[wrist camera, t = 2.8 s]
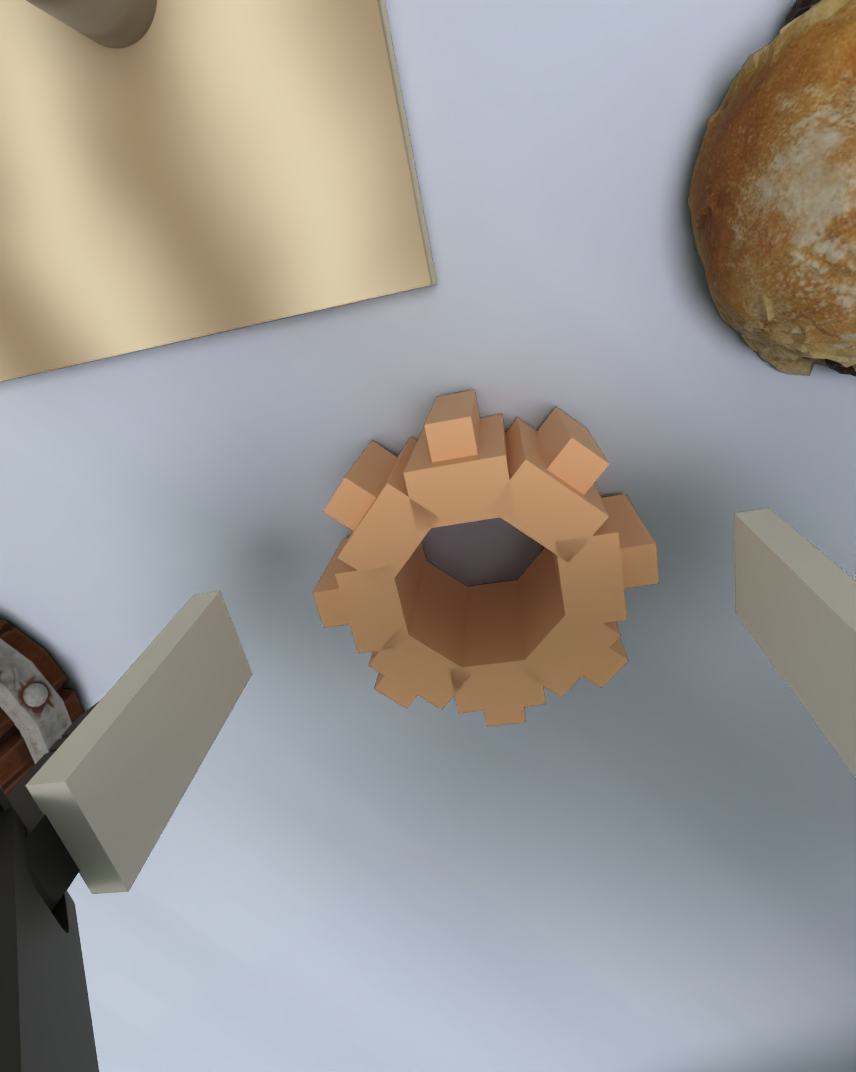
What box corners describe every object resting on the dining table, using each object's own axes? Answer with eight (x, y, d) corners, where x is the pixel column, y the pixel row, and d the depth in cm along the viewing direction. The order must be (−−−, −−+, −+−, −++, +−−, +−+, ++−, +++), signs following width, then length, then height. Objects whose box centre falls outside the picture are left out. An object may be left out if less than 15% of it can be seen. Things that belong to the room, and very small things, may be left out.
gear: (610, 360, 19) (650, 387, 14) (634, 628, 22) (672, 719, 17) (314, 417, 20) (262, 458, 16) (381, 658, 24) (354, 750, 19)
